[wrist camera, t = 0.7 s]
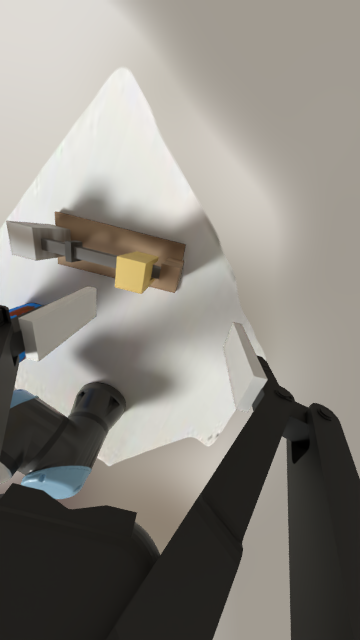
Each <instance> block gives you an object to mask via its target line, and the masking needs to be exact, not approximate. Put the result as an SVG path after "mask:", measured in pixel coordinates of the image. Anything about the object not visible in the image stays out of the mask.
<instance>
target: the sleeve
mask: <svg viewBox="0 0 360 640" xmlns="http://www.w3.org/2000/svg"><path fill="white" fill-rule="evenodd" d="M158 258H159V257H158V256H154V255H150V254H146V253H142V252H138V251H136V252H132V253H128V254H124V255H120V256H117V263H116V276H115V287H116V288H120V289H124V290H128V291H132V292H136V293H140V294H142V293H143V292H144V291H145V290H146V289H147V288H148V287H149V286H150V285H151V284H152V283H153V282H154V281H155V278H152V277H151V274H152V268H153V264H154V263H156V262H158Z"/></svg>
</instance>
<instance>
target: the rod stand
mask: <svg viewBox="0 0 360 640" xmlns="http://www.w3.org/2000/svg"><path fill="white" fill-rule="evenodd" d="M6 223H7V229H8V234H9V240H10V246H11V252H12V255H16V256H20V257H24V258H28V259H32V260H35V261H37V260H43V259H50V258H57V257H58V264H61V265H65V266H69V267H73V268H77V269H81V270H85V271H89V272H93V273H97V274H101V275H105V276H109V277H113V278H115V276H116V263H117V256H120V255H124V254H128V253H132V252H136V251H138V252H142V253H146V254H150V255H154V256H158V257H159V258H158V262H156V263H154V264H153V268H152V274H151V277H152V278H155V281H154V282H153V283H152V284H151V285H150V286H149V287H153V288H157V289H161V290H165V291H169V292H173V293H175V291H176V288H177V286H178V283H179V281H180V277H181V273H182V269H183V264H184V261H182V259H183V254H184V250H185V246H186V245H185V244H181V243H177V242H173V241H170V240H166V239H162V238H158V237H154V236H150V235H146V234H142V233H138V232H134V231H130V230H127V229H123V228H119V227H115V226H111V225H107V224H103V223H99V222H95V221H91V220H87V219H84V218H80V217H76V216H72V215H68V214H64V213H60V212H55V224H56V226H55V225H51V224H39V223H27V222H14V221H6Z"/></svg>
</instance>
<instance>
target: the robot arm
mask: <svg viewBox="0 0 360 640" xmlns="http://www.w3.org/2000/svg"><path fill="white" fill-rule="evenodd" d="M96 292H97V288H94V287H90V286H87V287H85V288H83V289H81V290H78V291H76V292H74V293H72V294H70V295H68V296H65V297H63V298H61V299H59V300H57V301H55V302H52V303H50V304H48V305H43V306H39V307H36V308H34V309H32V310H30V311H27V312H26V313H23V314H21V315H18V316H16V317H14V318H12V319H11V318H10V313H9V309H8V307H6V306H2V305H0V484H2V483H5V482H7V481H9V480H10V479H11V477H12V476H13V475H14V473H15V472H16V471H19V472H21V473H23V474H25V477H24V478H23V480H22V483H21V485H19V484H14V483H12V484H11V486H10V487H9V488H8V490H7V491H6V492H5V494H0V640H212V639H213V637H214V634H215V631H216V628H217V626H218V623H219V619H220V617H221V614H222V612H223V609H224V606H225V603H226V600H227V598H228V595H229V592H230V589H231V586H232V583H233V581H234V578H235V575H236V572H237V570H238V567H239V564H240V560H241V557H242V552H243V547H242V541H243V537H244V535H245V532H246V529H247V526H248V524H249V521H250V519H251V516H252V513H253V511H254V508H255V505H256V503H257V500H258V497H259V495H260V492H261V490H262V487H263V484H264V482H265V479H266V477H267V474H268V471H269V469H270V466H271V463H272V461H273V458H274V455H275V453H276V450H277V448H278V445H279V442H280V440H281V437H282V436H283V437H284V438H286V439H287V480H288V525H289V565H290V566H289V568H290V569H289V570H290V613H291V640H360V479H359V476H358V473H357V470H356V467H355V464H354V461H353V459H352V456H351V453H350V450H349V447H348V444H347V441H346V439H345V436H344V433H343V430H342V427H341V424H340V421H339V419H338V418H337V417H336V416H335V414H334V413H333V412H332V411H331V410H329V409H328V408H326V407H324V406H323V405H320V404H317V403H313V404H311V405H310V406H309V407H306V406H303V405H301V404H299V403H297V402H295V400H294V397H293V396H292V395H291V393H290V392H289V391H287V390H286V389H285V388H283V387H281V386H279V384H278V383H277V380H276V378H275V377H274V375H273V373H272V371H271V369H270V367H269V365H268V363H267V362H266V361H265V360H264V359H263V358H262V357H260V356H256V354H255V352H254V349H253V347H252V345H251V343H250V341H249V339H248V337H247V334H246V332H245V330H244V328H243V326H242V324H239V323H235V322H233V324H232V326H231V329H230V331H229V334H228V336H227V339H226V341H225V344H224V346H223V350H224V355H225V360H226V365H227V370H228V375H229V380H230V384H231V389H232V394H233V399H234V404H235V409H236V410H239V411H244V412H249V410H250V408H251V407H253V411H254V412H253V413H252V415H251V417H250V418H249V420H248V421H247V423H246V424H245V426H244V427H243V429H242V430H241V432H240V434H239V435H238V437H237V438H236V440H235V441H234V443H233V445H232V446H231V448H230V449H229V451H228V452H227V454H226V455H225V457H224V458H223V460H222V462H221V463H220V465H219V466H218V468H217V469H216V471H215V472H214V474H213V476H212V477H211V479H210V480H209V482H208V483H207V485H206V486H205V488H204V489H203V491H202V492H201V494H200V495H199V497H198V498H197V500H196V501H195V503H194V504H193V506H192V507H191V509H190V510H189V512H188V514H187V515H186V517H185V518H184V520H183V521H182V523H181V524H180V526H179V528H178V529H177V531H176V532H175V534H174V535H173V537H172V538H171V540H170V541H169V543H168V545H167V546H166V548H165V549H164V551H163V552H162V554H161V555H160V553H159V551H158V549H157V547H156V545H155V543H154V542H153V540H152V539H151V537H150V536H149V534H148V533H147V532H146V531H145V530H144V529H143V528H142V527H141V526H140V525H138V524H137V523H136V522H135V519H136V514H137V513H136V512H132V511H128V510H124V509H120V508H115V507H111V506H97V507H89V508H81V509H73V510H72V509H68V508H66V507H64V506H63V505H62V504H61V503H59V502H58V501H57V500H55V499H64V498H68V497H71V496H74V495H75V494H77V493H78V492H79V491H80V490H81V488H82V487H83V485H84V483H85V481H86V479H87V477H88V475H89V474H90V472H91V470H92V467H93V464H94V462H95V460H96V458H97V456H98V453H99V451H100V449H101V447H102V444H103V442H104V440H105V438H106V435H107V433H108V431H109V430H110V429H111V428H112V426H113V425H114V424H115V423H116V422H117V421H118V420H119V418H120V417H121V416H122V414H123V412H124V409H125V400H124V398H123V396H122V395H121V393H120V392H119V391H117V390H116V389H115V388H113V387H111V386H109V385H106V384H102V383H90V384H87V385H85V386H84V387H82V389H81V390H80V391H79V393H78V394H77V396H76V398H75V401H74V404H73V407H72V410H71V413H70V415H69V417H68V418H67V417H66V416H64V415H63V414H61V413H60V412H58V411H57V410H56V409H54V408H53V407H51V406H50V405H48V404H47V403H45V402H44V401H42V400H41V399H39V397H38V396H34V395H33V394H31V393H29V392H28V391H26V390H23V389H19V390H15V391H14V386H15V381H16V376H17V371H18V366H19V361H20V358H19V354H20V353H22V352H23V351H25V354H26V359H30V360H34V361H40V360H41V359H43V358H44V357H45V356H46V355H48V354H49V353H50V352H52V351H53V350H54V349H55V348H57V347H58V346H59V345H60V344H62V343H63V342H64V341H65V340H67V339H68V338H69V337H71V336H72V335H73V334H74V333H76V332H77V331H78V330H79V329H81V328H82V327H83V326H84V325H86V324H87V323H88V322H89V321H91V320H92V319H93V318H95V317H96Z"/></svg>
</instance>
